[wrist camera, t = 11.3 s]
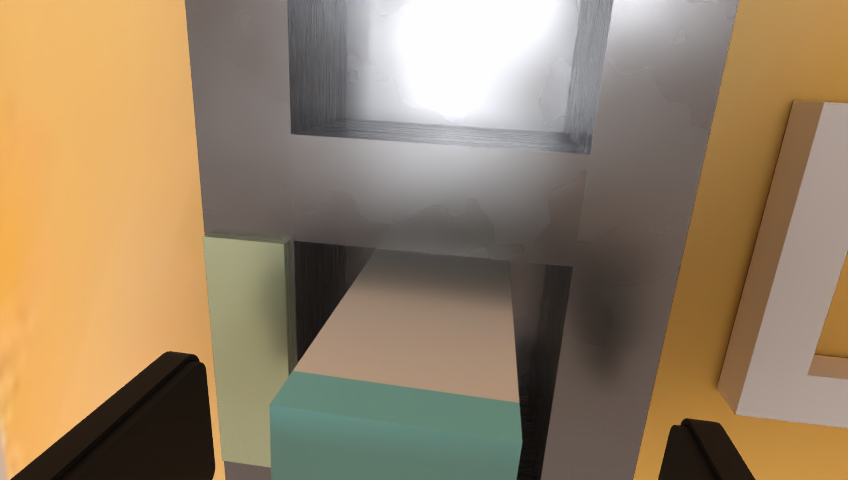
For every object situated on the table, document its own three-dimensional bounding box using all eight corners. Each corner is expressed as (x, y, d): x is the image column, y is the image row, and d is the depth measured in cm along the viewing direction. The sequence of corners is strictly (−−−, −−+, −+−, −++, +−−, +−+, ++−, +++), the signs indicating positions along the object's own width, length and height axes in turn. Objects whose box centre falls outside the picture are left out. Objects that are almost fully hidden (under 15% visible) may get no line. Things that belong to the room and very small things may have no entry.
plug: (507, 251, 16) (522, 442, 8) (493, 361, 18) (492, 630, 9) (384, 237, 17) (269, 405, 8) (378, 345, 18) (273, 589, 9)
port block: (684, -184, 14) (833, -387, 8) (580, 419, 19) (617, 570, 14) (286, -184, 15) (145, -359, 9) (300, 384, 21) (222, 509, 15)
